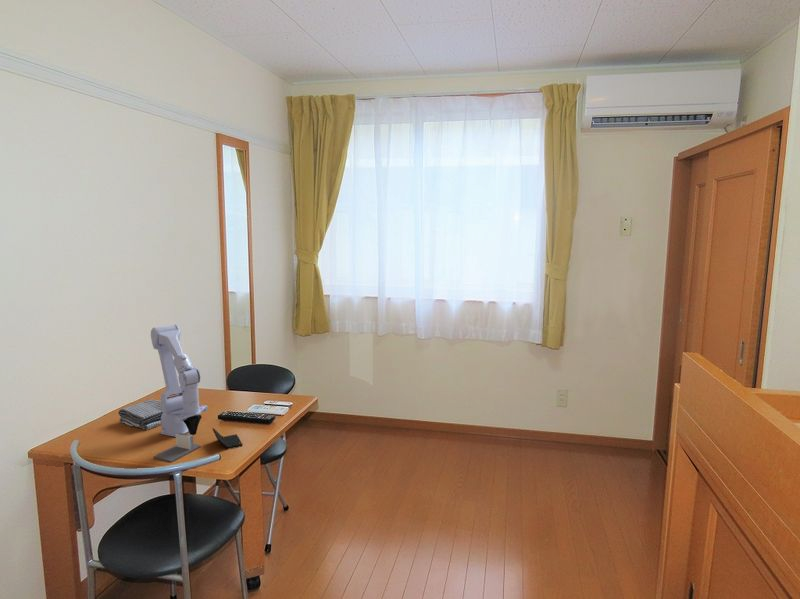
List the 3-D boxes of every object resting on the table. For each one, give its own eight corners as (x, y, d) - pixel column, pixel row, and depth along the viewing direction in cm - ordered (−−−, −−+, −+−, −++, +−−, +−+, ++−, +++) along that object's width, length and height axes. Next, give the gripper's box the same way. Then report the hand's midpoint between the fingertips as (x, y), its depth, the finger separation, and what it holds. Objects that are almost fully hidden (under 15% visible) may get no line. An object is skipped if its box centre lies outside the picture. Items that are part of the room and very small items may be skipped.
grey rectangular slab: (153, 457, 184) (153, 456, 184) (183, 442, 197) (183, 441, 197) (171, 462, 181) (171, 461, 181) (201, 446, 193) (201, 445, 193)
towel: (150, 412, 230) (149, 396, 228) (176, 420, 221) (175, 403, 219) (117, 424, 216) (116, 406, 215) (144, 432, 208) (143, 414, 206)
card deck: (176, 446, 193) (175, 433, 192) (179, 444, 194) (179, 432, 193) (190, 449, 190) (189, 436, 189) (193, 447, 191) (192, 435, 191)
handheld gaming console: (247, 440, 195) (229, 424, 191) (234, 456, 192) (215, 439, 188) (237, 435, 204) (219, 419, 200) (224, 449, 201) (206, 434, 197)
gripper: (183, 408, 185) (186, 443, 187) (212, 395, 198) (214, 428, 200) (169, 405, 188) (172, 440, 190) (199, 393, 201) (201, 426, 203)
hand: (193, 434), depth 195 cm, fingers closed
